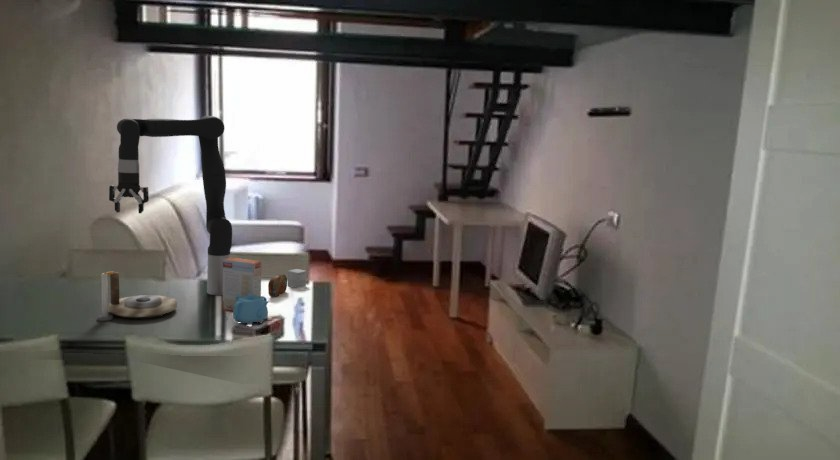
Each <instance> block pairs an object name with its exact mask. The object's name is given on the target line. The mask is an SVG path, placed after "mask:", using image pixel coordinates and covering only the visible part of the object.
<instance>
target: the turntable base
mask: <svg viewBox="0 0 840 460" xmlns="http://www.w3.org/2000/svg"><path fill="white" fill-rule="evenodd" d="M161 315H162V316H165V315H167V314H166V313H165V315H164V314H161ZM161 315H156V316H149V317H125V316H119V317H121V318H122V319H123V318H124V319H131V320H146V319H148V320H149V319H153V318H159V317H162V316H161Z"/></svg>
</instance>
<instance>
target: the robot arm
mask: <svg viewBox="0 0 840 460" xmlns="http://www.w3.org/2000/svg"><path fill="white" fill-rule="evenodd" d="M116 130H117V132H118V133H119V135H120V139H119V140H120V143H119V146H118V161H117V162H118V163H117V183H118V184H117V185H114V184H113V185H109V190H108V192H109V193H108V194H109V195H108V197H109V198H108V201H110V202H113V204H114V211H115V212H116V213H120V212H121V202H120V201H121V200H122V198H134V199H135V200H136V201H137V203H138V205H137V206H138V214H142V213H143V212H144V209H145V208H144V207H145V206H144V204H145V203H148V202H149V199H150V197H149V187H148V186H145V187H144V186H141V185H140V160H139V159H140V157H139V156H140V155H139V152H140V151H139V144H140V137H147V138H148V137H149V138H161V137H162V138H165V137H183V136H185V137H187V136H190V137H191V136H192V137H193V136H194V137H198V141H199V146H200V154H201V156H200V158H201V160H200V161H201V171H202V172H201V173H202V174H201V175H202V176H201V177H202V186H203V192H204V199H205V205H206V215H205V217H206V222H205V228H206V231H207V233H208V234H209V246H208V247H207V274H206V276H207V277H206V279H207V287H206V291H207V292H206V294H208V295H211V296H223V260H224V259H227V258H230V257H231V249H232V245H233V225H232V223H231V221H230V220H228V219H227V217H226V211H225V205H224V203H225V195H226V191H227V179H226V168H225V165H224V162H223V158H222V156H221V154H220V148H219V137H221V136H223V133H224V132H225V124H224V122H223V120H221V118H219V117H217V116H214V115H204V116H202V117H200V118H198V119H175V118H174V119H173V118H147V119H142V118H123V119H121V120H119V121H118V123H117V125H116ZM117 191H118V192H119V193H118V194H117V196H116V192H117ZM140 192H141V193H142V194H143V198H142V196H141V194H140Z"/></svg>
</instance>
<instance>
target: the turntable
mask: <svg viewBox="0 0 840 460" xmlns="http://www.w3.org/2000/svg"><path fill="white" fill-rule="evenodd" d="M113 272H114V274H110V275H109V277H110V279H109V282H110V285H109V286H110V303H109V302H108V313H111V314H112V315H115V316H117V317H118V316H119V317H120V316H125V317H149V316H156V315H161V314H165V313H167V314H169V313H170V312H173V311H175V310H176V309H177V308H178V302H177V300H176V299H174V298H173V297H169V296H164V295H157V294H156V295H155V294H154V295H152V294H151V295H150V294H146V295H145V294H143V295H141V294H140V295H132V296H125V297H121V298H120V271H113ZM165 315H166V314H165Z"/></svg>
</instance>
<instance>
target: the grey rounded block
mask: <svg viewBox="0 0 840 460" xmlns="http://www.w3.org/2000/svg"><path fill="white" fill-rule="evenodd" d="M306 286H307V270H303V269H300V268H295V269H289V270H288V271H287V287H291V288H294V289H299V287H300V288H304V287H306Z"/></svg>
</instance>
